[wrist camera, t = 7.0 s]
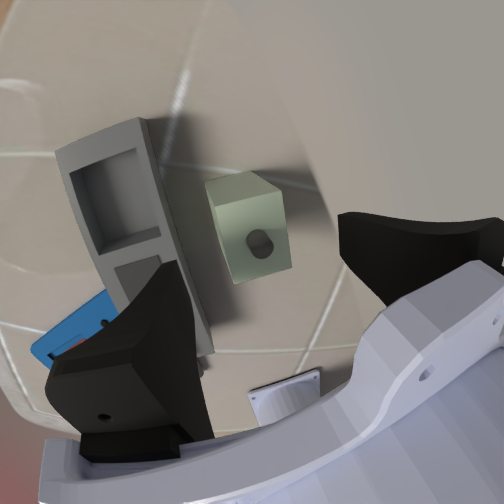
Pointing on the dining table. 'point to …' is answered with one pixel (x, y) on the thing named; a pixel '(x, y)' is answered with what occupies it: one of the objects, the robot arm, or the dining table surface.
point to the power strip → (126, 215)
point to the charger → (249, 225)
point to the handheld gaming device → (75, 328)
